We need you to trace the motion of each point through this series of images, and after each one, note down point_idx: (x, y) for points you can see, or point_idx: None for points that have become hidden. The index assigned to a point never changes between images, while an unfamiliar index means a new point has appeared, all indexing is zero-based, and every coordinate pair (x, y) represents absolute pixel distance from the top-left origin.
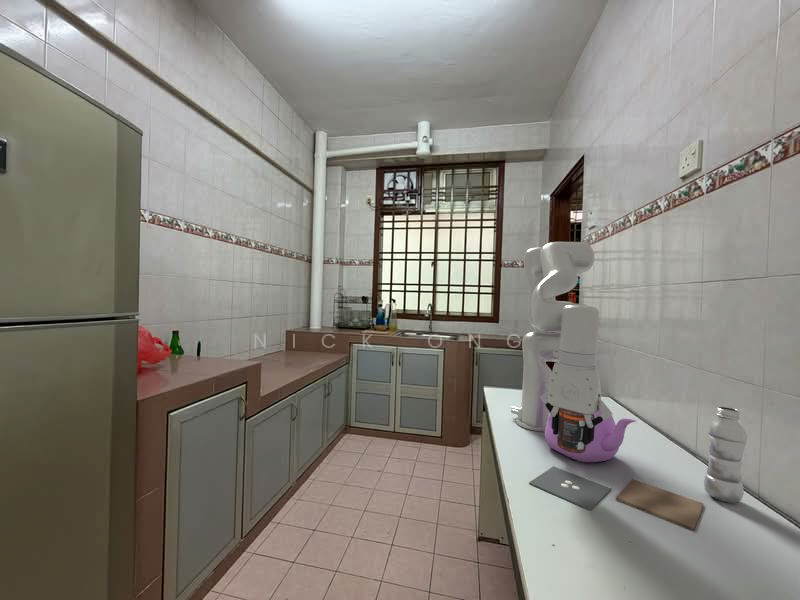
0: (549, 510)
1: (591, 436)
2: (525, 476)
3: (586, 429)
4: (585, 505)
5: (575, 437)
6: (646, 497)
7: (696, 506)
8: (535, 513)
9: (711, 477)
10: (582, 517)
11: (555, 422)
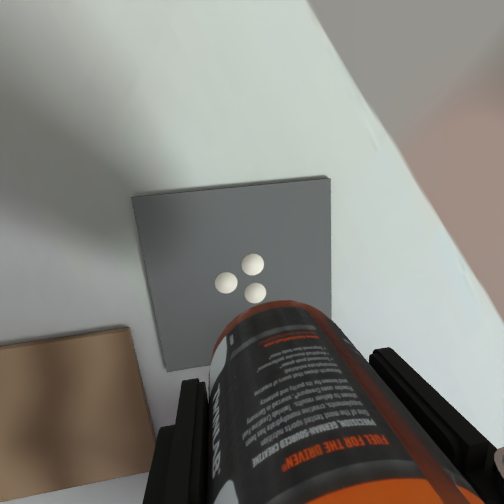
0: (204, 75)
1: (153, 454)
2: (357, 213)
3: (174, 482)
4: (153, 206)
5: (243, 370)
6: (81, 406)
7: None
8: (220, 8)
9: None
10: (124, 134)
11: (436, 408)
